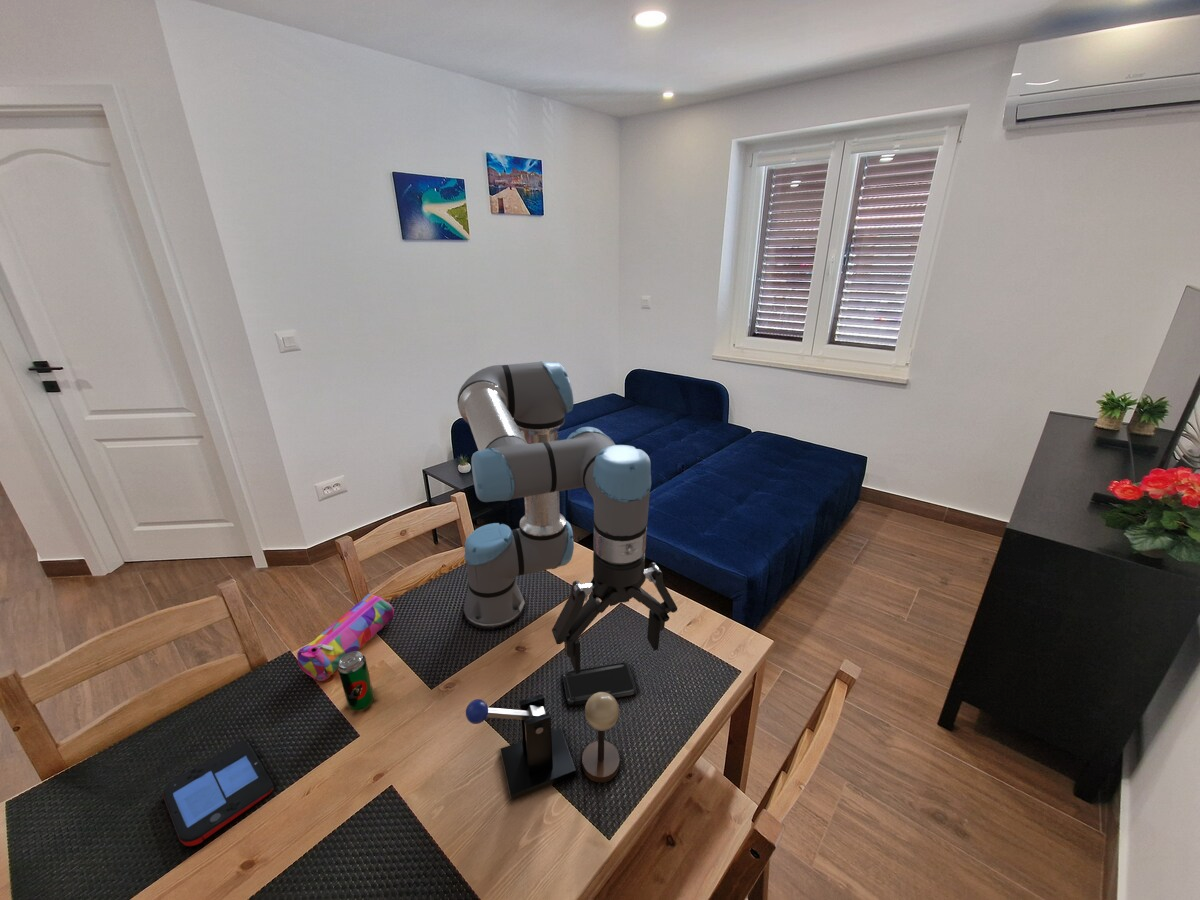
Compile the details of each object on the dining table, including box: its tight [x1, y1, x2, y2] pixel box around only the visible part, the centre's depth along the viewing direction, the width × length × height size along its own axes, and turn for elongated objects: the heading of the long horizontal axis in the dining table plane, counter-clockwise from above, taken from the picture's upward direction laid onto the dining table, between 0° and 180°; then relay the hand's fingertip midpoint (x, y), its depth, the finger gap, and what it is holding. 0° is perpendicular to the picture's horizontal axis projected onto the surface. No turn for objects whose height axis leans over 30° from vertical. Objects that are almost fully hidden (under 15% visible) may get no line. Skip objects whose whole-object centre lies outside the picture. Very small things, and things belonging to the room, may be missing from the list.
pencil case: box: [296, 593, 395, 682], centre depth 112 cm, size 22×9×9 cm, turn 160°
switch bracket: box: [500, 693, 577, 801], centre depth 87 cm, size 12×9×15 cm
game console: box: [162, 739, 275, 847], centre depth 84 cm, size 14×13×2 cm
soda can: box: [337, 650, 375, 712], centre depth 99 cm, size 5×5×12 cm
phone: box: [562, 662, 637, 707], centre depth 106 cm, size 8×1×15 cm
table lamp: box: [581, 692, 621, 784], centre depth 87 cm, size 7×7×17 cm
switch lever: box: [465, 698, 546, 725], centre depth 82 cm, size 14×4×4 cm, turn 113°
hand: (615, 655), depth 79 cm, fingers open, 13 cm apart
